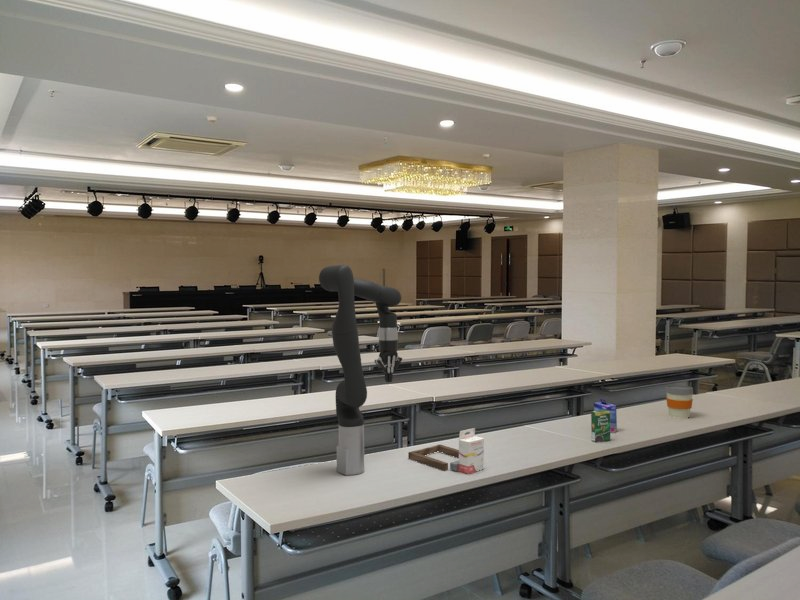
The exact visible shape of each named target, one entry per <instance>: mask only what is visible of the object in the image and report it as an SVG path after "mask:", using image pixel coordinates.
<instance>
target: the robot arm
mask: <svg viewBox="0 0 800 600" xmlns="http://www.w3.org/2000/svg"><path fill="white" fill-rule="evenodd" d="M318 282H319V285H320V286H321V288H322V289H324V290H325V291H328V292H337V295H338V308H337V312H336V315H335V317H334V320H333V322H332V325H331V326H332V327H331V335H332V344H333V349H334V351H335V354H336V357H337V358H338V360H339V363H340V366H341V367H342V368H341V369H342V372H343V376H344V379H343V380H342V381H340V382H339V383H338V384H337V386H336V388H335V413H336V418H337V420H338V421H337V422H338V444H337V445H336V472H337V473H339V474H342V475H343V476H353V475H359V474H362V473H364V472H365V417H364V415H363V414H362V412H361V410H360V408H361V407H362V406H363V405H364V404H365V403H366V401H367V397H368V389H367V384H366V381H365V375H364V371H363V367H362V357H361V350H360V339H359V332H358V325H357V315H356V306H355V296H356V297H358V298H361V299H365V300H367V301H370V302H373V303H375V307H376V310H377V314H378V317H379V318H378V319H379V324H378V325H379V326H378V327H379V329H378V350H379V354H378V358H377V359H374V363H375V365H376V366H377V368H378V369H379V371H380V372H383V373H384V381H385V382H386V383H392V381H393V373H394V372H396V371H397V369H398V368H399V366H400V365H401V363H402V361H403V357H400V356H399V355H398V354H399V353H398V350H399V348H398V347H399V343H398V342H399V339H398V337H399V334H398V333H399V332H398V316H397V313H395V312H394V311H391V310H390V309H389V307H397V306H398V305H399V304H400V303H401V301H402V294H401V292H400V291H399V290H398V289H397V288H396V287H395V288H394V287H391V286H385V285H381V284H378V283H376V282H373V281H371V280H368V279H367V280H366V279H361V278H355V277H354V273H353V270H352V268H351V267H350V266H349V265H346V264H338V265H328V266H326V267H323V268H322V269H321V270H320V272H319V275H318Z"/></svg>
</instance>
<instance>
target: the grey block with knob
mask: <svg viewBox="0 0 800 600" xmlns="http://www.w3.org/2000/svg"><path fill="white" fill-rule="evenodd" d="M449 470H452V471H454V472H459V459H457V460H454V461H451V462H450V463H449Z"/></svg>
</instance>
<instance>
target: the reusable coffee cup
mask: <svg viewBox="0 0 800 600" xmlns="http://www.w3.org/2000/svg"><path fill="white" fill-rule="evenodd" d="M665 393H666V398H665V400H666V406H667V408H668V415H670V416H671V417H676V418H688V417H689V418H690V414H691V409H692V408H693V407H692V406H693V395H694V388H693V387H692V386H688V385H680V384H670V385H666V386H665ZM670 416H669V417H670ZM671 417H670V418H671ZM676 418H675V419H676ZM689 418H688V419H689Z"/></svg>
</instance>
